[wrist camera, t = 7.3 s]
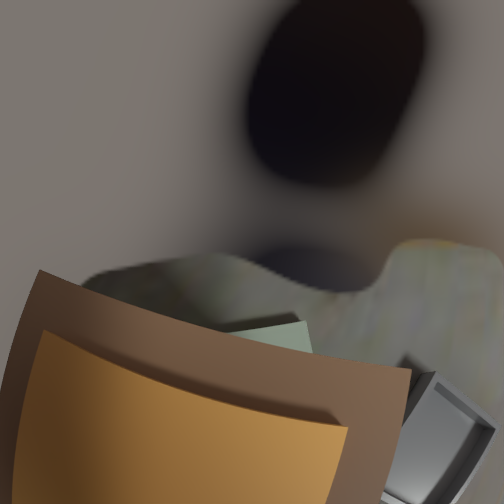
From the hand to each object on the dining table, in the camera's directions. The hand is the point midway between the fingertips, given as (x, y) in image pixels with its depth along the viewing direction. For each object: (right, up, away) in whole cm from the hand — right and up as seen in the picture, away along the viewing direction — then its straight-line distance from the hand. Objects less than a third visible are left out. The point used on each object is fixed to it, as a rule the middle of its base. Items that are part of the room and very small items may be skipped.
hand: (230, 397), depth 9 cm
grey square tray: (+13, -9, +5) cm, 17 cm away
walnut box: (0, -4, +5) cm, 6 cm away
